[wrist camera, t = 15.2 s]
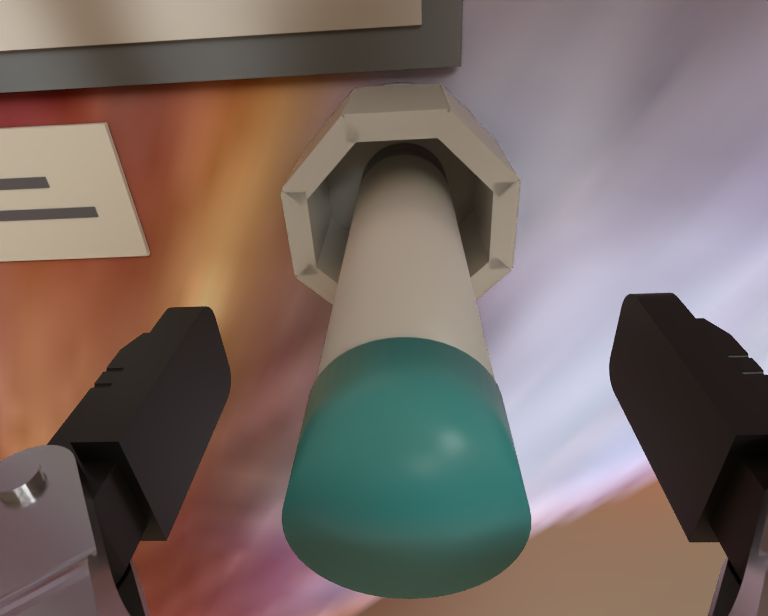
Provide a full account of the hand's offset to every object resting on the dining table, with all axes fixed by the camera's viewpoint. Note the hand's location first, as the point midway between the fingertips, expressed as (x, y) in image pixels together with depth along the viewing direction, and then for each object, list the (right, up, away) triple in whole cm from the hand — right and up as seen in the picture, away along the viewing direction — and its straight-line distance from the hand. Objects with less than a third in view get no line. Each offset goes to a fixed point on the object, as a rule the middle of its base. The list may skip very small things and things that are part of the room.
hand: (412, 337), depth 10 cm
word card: (-14, +5, +9) cm, 17 cm away
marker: (0, +5, +8) cm, 9 cm away
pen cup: (0, +5, +8) cm, 10 cm away
